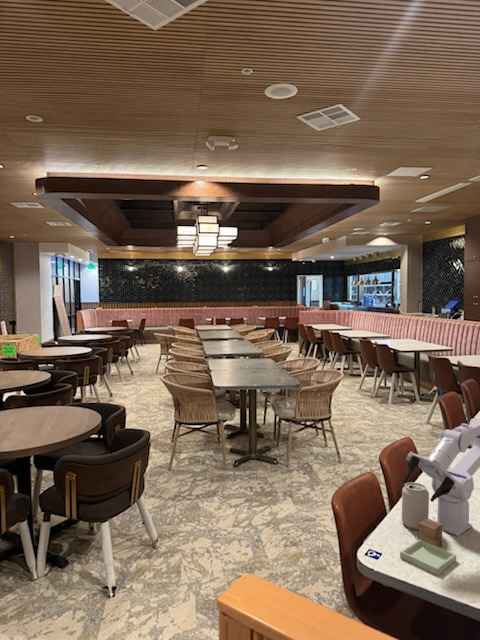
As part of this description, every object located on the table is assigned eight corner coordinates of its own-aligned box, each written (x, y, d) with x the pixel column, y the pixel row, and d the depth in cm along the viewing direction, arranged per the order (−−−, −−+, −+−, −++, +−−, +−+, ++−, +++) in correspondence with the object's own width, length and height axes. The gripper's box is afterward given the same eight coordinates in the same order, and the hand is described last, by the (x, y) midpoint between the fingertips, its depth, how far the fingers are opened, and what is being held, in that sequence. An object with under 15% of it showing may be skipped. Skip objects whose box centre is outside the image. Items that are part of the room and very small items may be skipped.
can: (406, 516, 142) (407, 478, 141) (431, 524, 137) (432, 485, 137) (397, 525, 136) (398, 486, 136) (423, 533, 131) (424, 493, 131)
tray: (419, 544, 125) (419, 539, 125) (456, 560, 118) (456, 554, 118) (400, 557, 119) (400, 551, 119) (437, 575, 111) (437, 568, 111)
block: (426, 538, 129) (426, 518, 128) (442, 545, 125) (442, 524, 125) (418, 544, 126) (418, 522, 126) (433, 551, 122) (434, 529, 122)
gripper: (420, 435, 131) (397, 464, 123) (470, 466, 123) (449, 499, 115) (414, 450, 135) (391, 479, 127) (461, 481, 128) (441, 514, 120)
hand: (418, 489), depth 122 cm, fingers open, 7 cm apart
